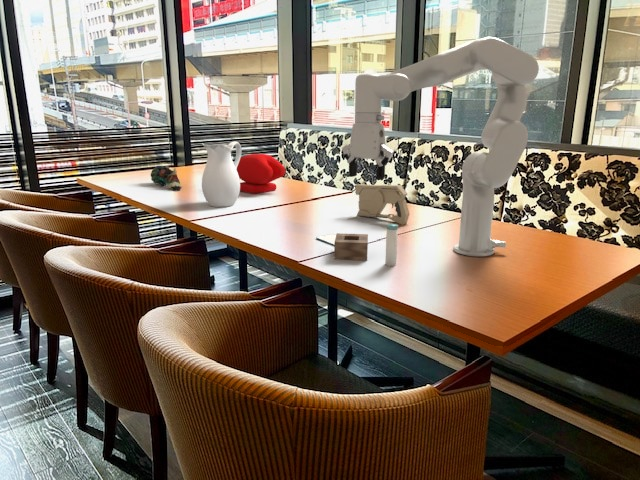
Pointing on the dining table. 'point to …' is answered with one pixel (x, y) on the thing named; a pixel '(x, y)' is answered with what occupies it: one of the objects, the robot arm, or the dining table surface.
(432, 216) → the dining table surface
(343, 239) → the socket block
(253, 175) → the toy
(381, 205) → the gun
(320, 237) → the smartphone
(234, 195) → the pitcher
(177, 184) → the sculpture
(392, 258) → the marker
